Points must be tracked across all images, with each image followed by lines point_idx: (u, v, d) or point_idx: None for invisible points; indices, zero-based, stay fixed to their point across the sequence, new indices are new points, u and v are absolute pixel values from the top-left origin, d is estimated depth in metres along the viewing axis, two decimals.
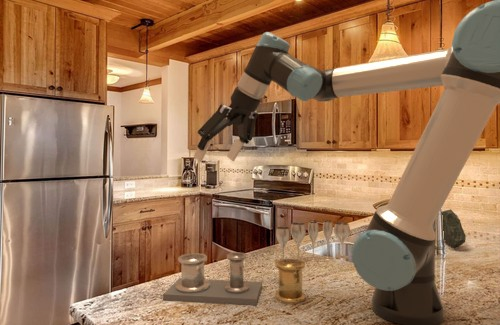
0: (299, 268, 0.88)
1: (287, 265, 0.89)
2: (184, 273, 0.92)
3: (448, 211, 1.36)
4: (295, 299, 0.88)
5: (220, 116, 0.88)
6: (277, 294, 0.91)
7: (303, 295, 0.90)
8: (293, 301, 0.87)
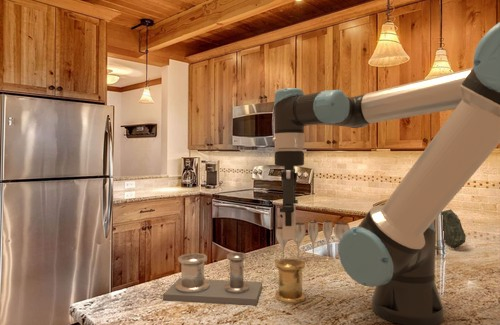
0: (299, 268, 0.88)
1: (287, 265, 0.88)
2: (184, 273, 0.92)
3: (448, 211, 1.36)
4: (295, 299, 0.88)
5: (291, 181, 0.83)
6: (277, 294, 0.91)
7: (303, 295, 0.90)
8: (293, 301, 0.87)
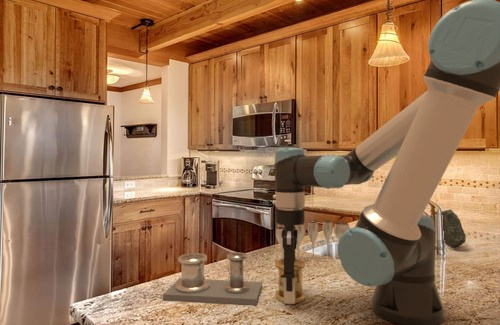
0: (299, 268, 0.88)
1: None
2: (184, 273, 0.92)
3: (448, 211, 1.36)
4: (295, 299, 0.88)
5: (292, 248, 0.84)
6: (277, 294, 0.91)
7: (303, 295, 0.90)
8: None
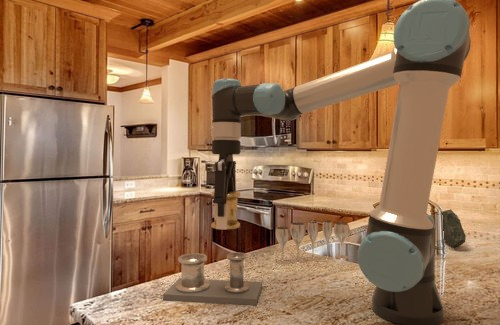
0: (232, 196, 0.90)
1: None
2: (184, 273, 0.92)
3: (448, 211, 1.36)
4: (228, 226, 0.90)
5: (223, 173, 0.87)
6: (213, 223, 0.94)
7: (238, 224, 0.93)
8: None
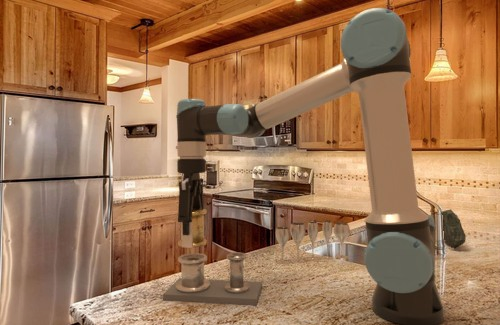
0: (197, 214, 0.91)
1: None
2: (184, 273, 0.92)
3: (448, 211, 1.36)
4: (193, 243, 0.91)
5: (187, 192, 0.88)
6: (180, 241, 0.95)
7: (204, 241, 0.94)
8: None
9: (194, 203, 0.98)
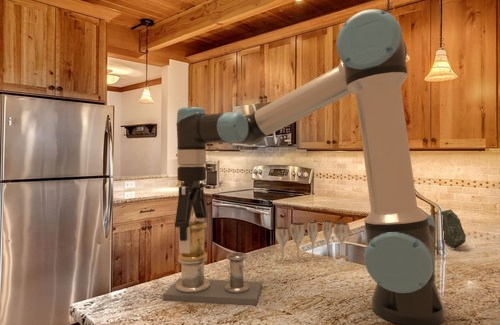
0: (198, 227, 0.91)
1: None
2: (184, 273, 0.92)
3: (448, 211, 1.36)
4: (194, 257, 0.91)
5: (186, 197, 0.87)
6: (180, 254, 0.95)
7: (204, 255, 0.94)
8: (191, 259, 0.91)
9: (196, 208, 0.99)
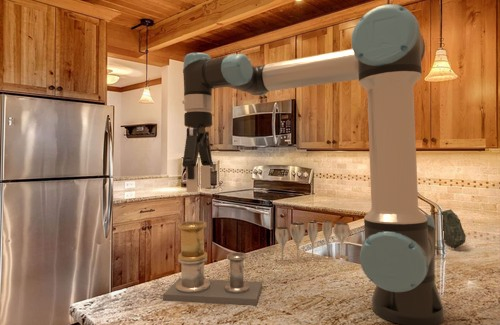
0: (197, 227, 0.91)
1: (187, 225, 0.92)
2: (184, 273, 0.92)
3: (448, 211, 1.36)
4: (194, 257, 0.91)
5: (194, 137, 0.89)
6: (180, 254, 0.95)
7: (204, 254, 0.94)
8: (191, 259, 0.91)
9: (202, 155, 1.01)
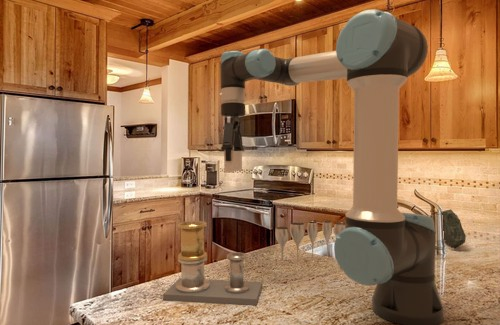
0: (197, 227, 0.91)
1: (187, 225, 0.92)
2: (184, 273, 0.92)
3: (448, 211, 1.36)
4: (194, 257, 0.91)
5: (231, 125, 1.02)
6: (180, 254, 0.95)
7: (204, 254, 0.94)
8: (191, 258, 0.91)
9: (235, 141, 1.15)
